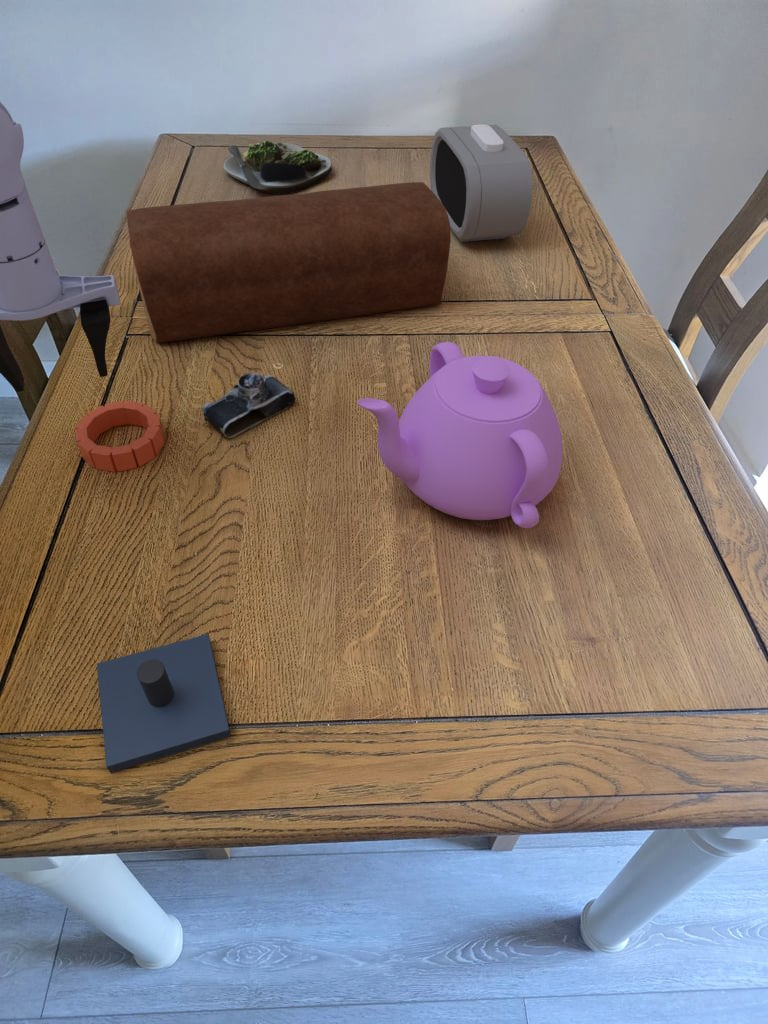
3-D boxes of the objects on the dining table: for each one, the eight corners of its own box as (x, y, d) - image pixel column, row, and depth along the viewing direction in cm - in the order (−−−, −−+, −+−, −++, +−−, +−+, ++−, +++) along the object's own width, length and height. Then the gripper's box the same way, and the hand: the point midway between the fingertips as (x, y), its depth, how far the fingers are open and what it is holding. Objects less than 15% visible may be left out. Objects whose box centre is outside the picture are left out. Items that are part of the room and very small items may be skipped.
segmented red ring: (84, 478, 73) (77, 461, 71) (79, 426, 78) (73, 409, 76) (169, 461, 75) (164, 444, 73) (158, 411, 80) (153, 395, 78)
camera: (197, 420, 79) (191, 390, 76) (272, 383, 84) (269, 354, 81) (223, 443, 77) (218, 413, 74) (298, 404, 82) (296, 374, 79)
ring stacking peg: (110, 773, 52) (92, 744, 49) (100, 670, 58) (83, 638, 54) (231, 736, 55) (222, 706, 51) (210, 641, 60) (201, 607, 56)
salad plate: (195, 169, 124) (190, 141, 120) (271, 142, 133) (269, 116, 130) (269, 205, 116) (266, 176, 112) (345, 174, 125) (345, 146, 121)
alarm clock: (426, 197, 120) (433, 110, 110) (479, 193, 121) (490, 107, 111) (463, 257, 106) (474, 164, 96) (522, 251, 108) (539, 160, 98)
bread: (446, 310, 96) (457, 213, 86) (153, 351, 88) (128, 248, 78) (410, 255, 106) (417, 162, 96) (144, 287, 97) (120, 189, 88)
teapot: (319, 441, 78) (314, 333, 67) (490, 395, 84) (509, 290, 74) (405, 592, 64) (414, 486, 54) (600, 523, 71) (642, 417, 61)
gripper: (96, 211, 62) (135, 341, 72) (-84, 234, 59) (-17, 366, 69) (102, 250, 58) (142, 382, 68) (-93, 278, 54) (-20, 412, 65)
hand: (62, 377), depth 68 cm, fingers open, 7 cm apart
